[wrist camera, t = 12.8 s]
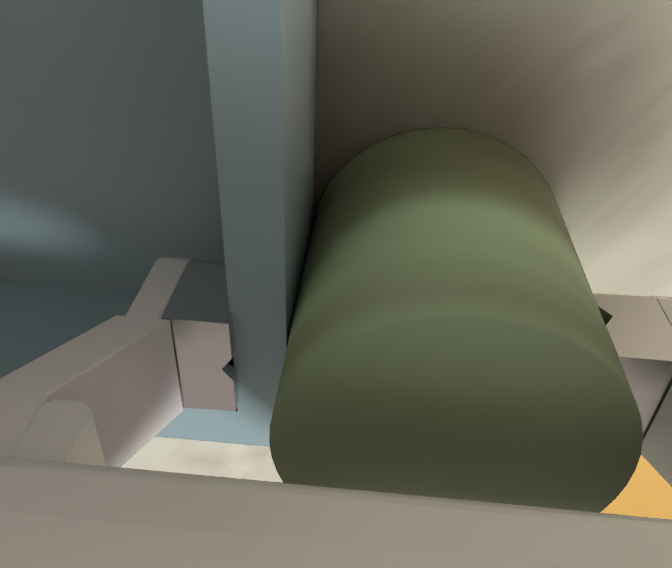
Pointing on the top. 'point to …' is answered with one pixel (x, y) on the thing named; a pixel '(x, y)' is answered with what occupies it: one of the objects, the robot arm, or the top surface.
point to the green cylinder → (451, 337)
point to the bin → (157, 173)
